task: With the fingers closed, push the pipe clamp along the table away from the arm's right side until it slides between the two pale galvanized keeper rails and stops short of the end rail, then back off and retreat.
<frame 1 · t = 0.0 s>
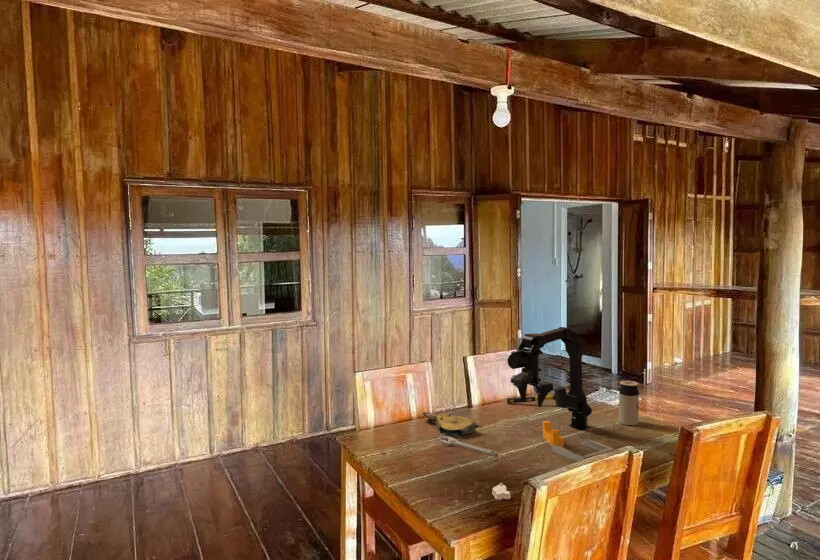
hand: (531, 404, 218), 15 cm above the table, tool pointing down, fingers open, 9 cm apart
pulley block: (448, 428, 234), on the table
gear: (501, 496, 172), on the table
keeper: (580, 452, 205), on the table
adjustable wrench: (466, 449, 211), on the table
travel mug: (628, 423, 238), on the table
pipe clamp: (552, 442, 217), on the table
mallet: (537, 405, 266), on the table
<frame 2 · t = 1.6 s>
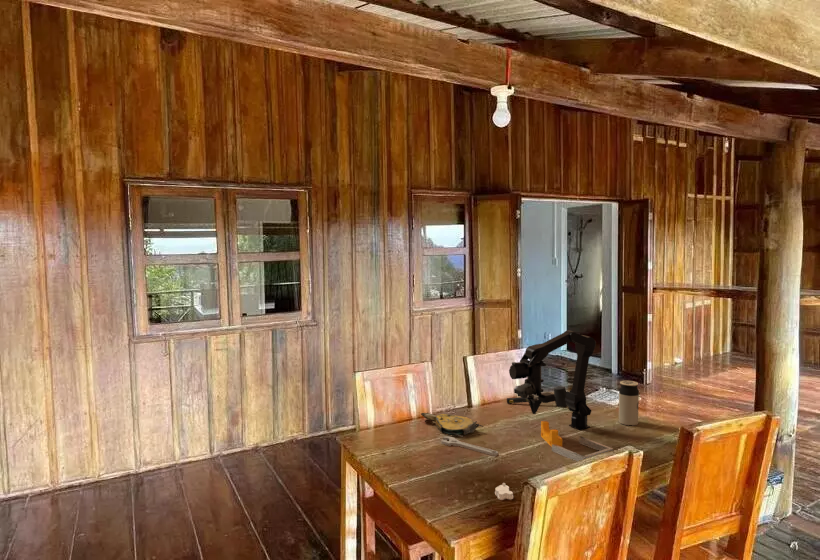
hand: (534, 413, 226), 8 cm above the table, tool pointing down, fingers closed
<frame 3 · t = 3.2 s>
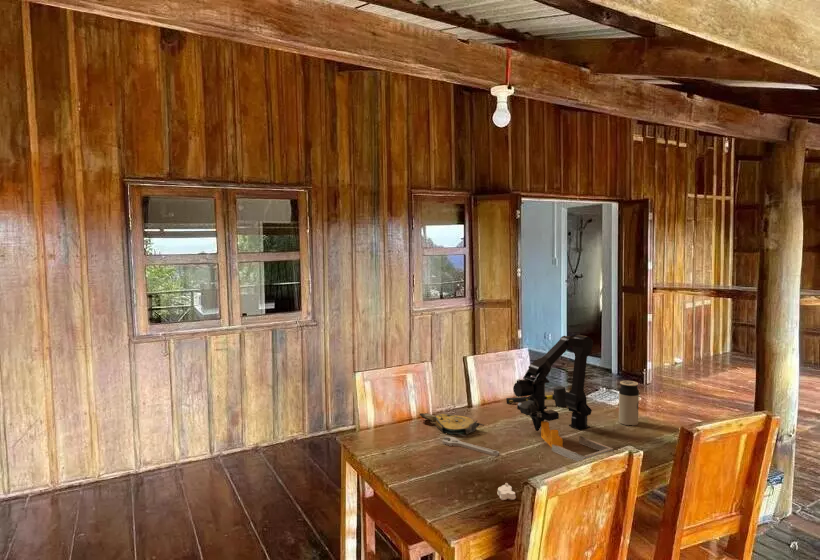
hand: (537, 430, 225), 2 cm above the table, tool pointing down, fingers closed
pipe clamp: (551, 442, 216), on the table, touching gripper
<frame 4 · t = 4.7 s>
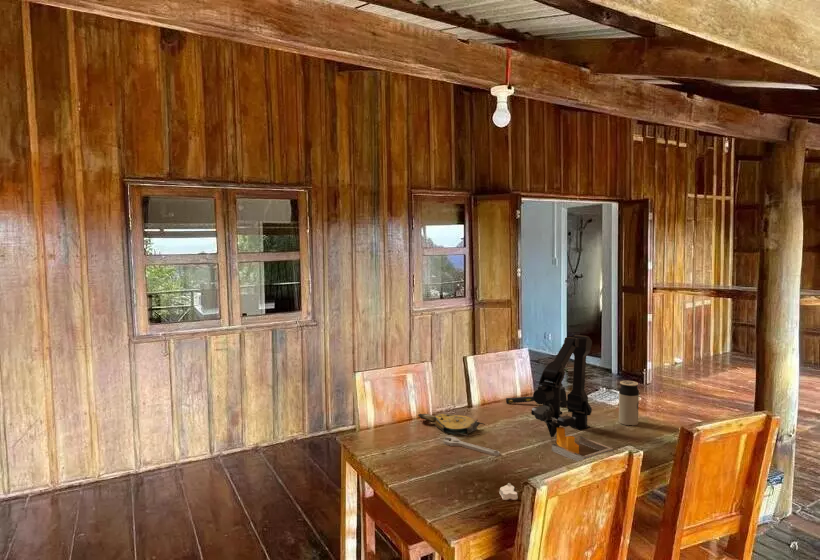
hand: (552, 437, 217), 2 cm above the table, tool pointing down, fingers closed
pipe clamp: (567, 449, 209), on the table, touching gripper
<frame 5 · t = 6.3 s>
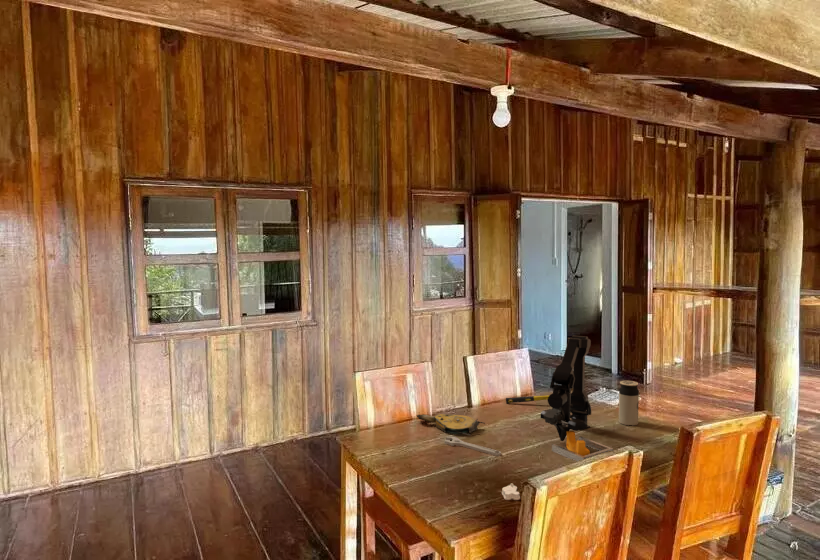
hand: (562, 440, 213), 2 cm above the table, tool pointing down, fingers closed
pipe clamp: (577, 453, 205), on the table, touching gripper
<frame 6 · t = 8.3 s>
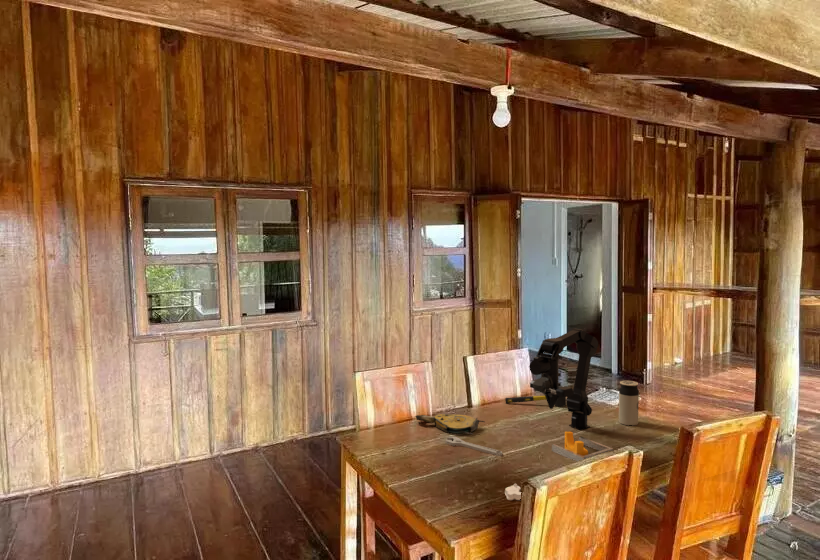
hand: (551, 408, 221), 12 cm above the table, tool pointing down, fingers closed
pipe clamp: (576, 454, 205), on the table
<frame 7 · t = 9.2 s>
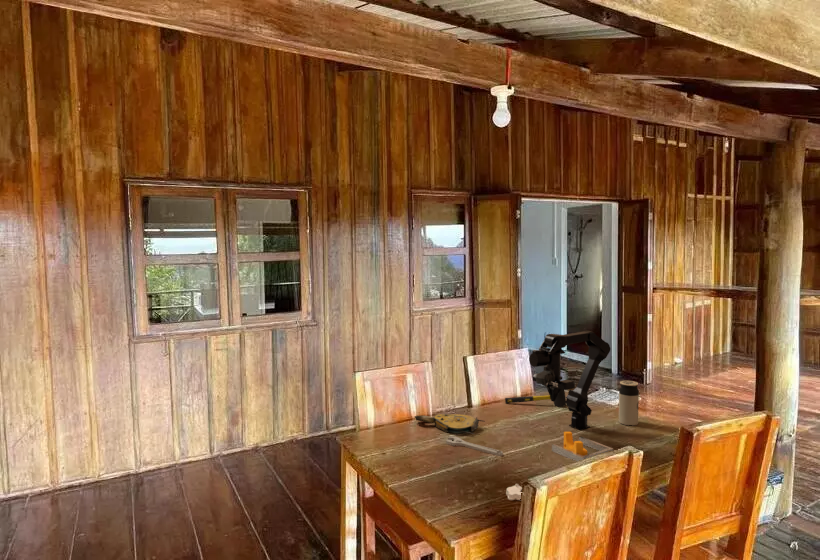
hand: (553, 401, 227), 13 cm above the table, tool pointing down, fingers closed
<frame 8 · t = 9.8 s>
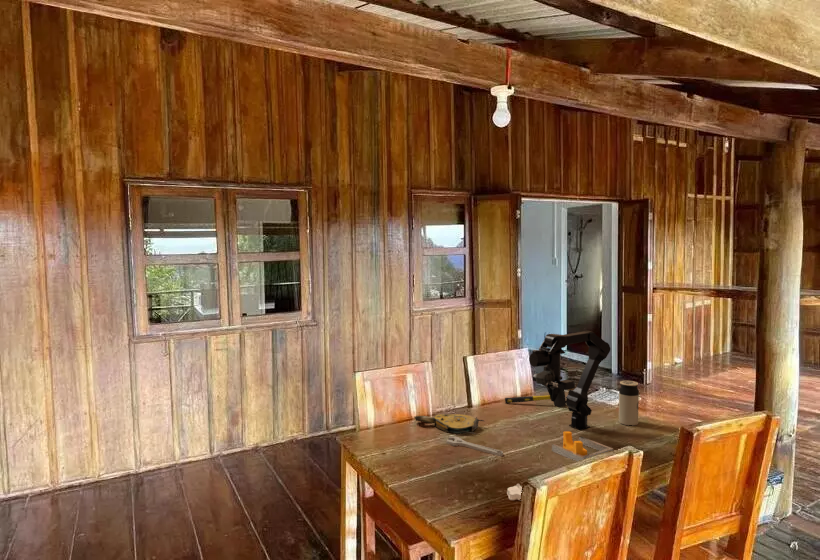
hand: (553, 401, 227), 13 cm above the table, tool pointing down, fingers closed
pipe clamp: (574, 454, 205), on the table, touching keeper
at the end: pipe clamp inside the target area on the keeper (2.4 cm from its centre), point 0.0 cm above the keeper's base; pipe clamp moved 13.3 cm from its start; the gripper is holding nothing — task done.
